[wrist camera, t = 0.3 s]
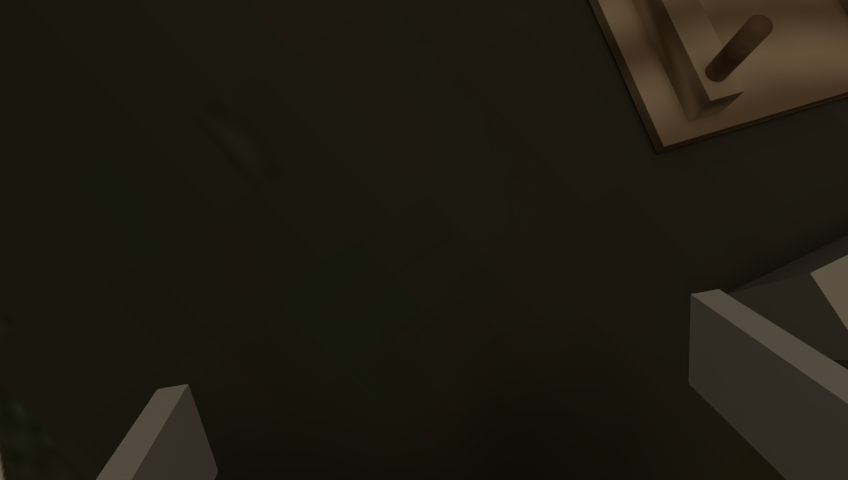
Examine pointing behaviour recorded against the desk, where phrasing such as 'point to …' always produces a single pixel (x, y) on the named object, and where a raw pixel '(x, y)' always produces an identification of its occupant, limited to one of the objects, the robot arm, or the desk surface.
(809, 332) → the grey rectangular block
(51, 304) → the desk surface
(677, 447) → the desk surface
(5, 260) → the desk surface
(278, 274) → the desk surface
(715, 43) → the rack
